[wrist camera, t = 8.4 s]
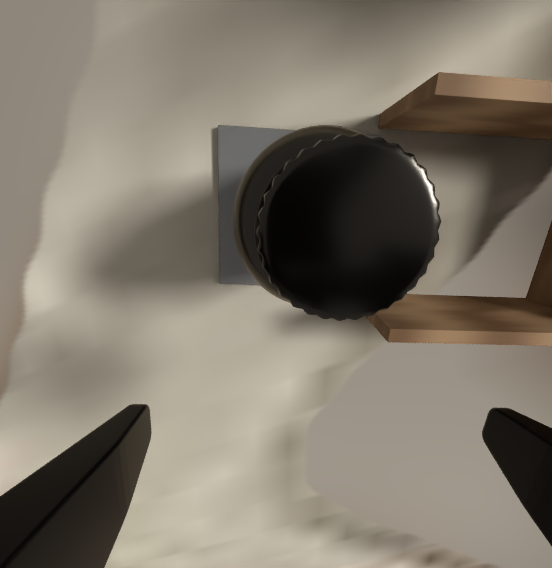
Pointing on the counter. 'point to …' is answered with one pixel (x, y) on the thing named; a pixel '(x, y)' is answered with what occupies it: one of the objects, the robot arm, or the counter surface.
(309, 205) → the supplement bottle
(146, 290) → the counter surface
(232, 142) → the mat
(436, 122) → the open box
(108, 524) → the robot arm
